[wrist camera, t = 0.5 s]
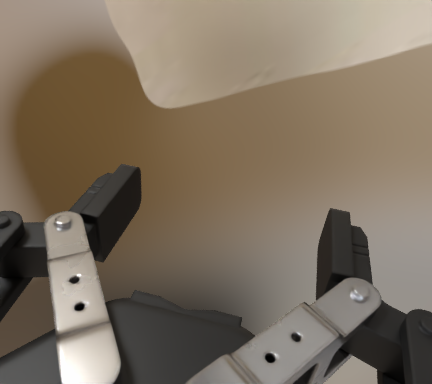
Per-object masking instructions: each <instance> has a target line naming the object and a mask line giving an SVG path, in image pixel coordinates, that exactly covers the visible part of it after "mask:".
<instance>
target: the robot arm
mask: <svg viewBox="0 0 432 384" xmlns="http://www.w3.org/2000/svg"><path fill="white" fill-rule="evenodd" d="M140 203H141V171H140V168H139V167H134V166H129V165H125V164H121V165H120V166H119V167H118V169H117V170H116V171H115V172H114V173H113V174H112V173H107V174H105V175H103V176H101V177H99V178H98V179H97V180H96V181H95V182H94V183H93V184H92V186H91V187H89V189H88V190H87V191H86V193H84V194H83V195H82V196H81V197H80V199H79V200H78V201H77V202H76V203H75V204H74V205H73V206H72V207H71V209H70V210H69V211H64V212H59V213H55V214H53V215H51V216H50V217H48V218H47V219H46V220H45V222H40V223H38V222H36V223H23V220H22V217H21V215H20V214H18V213H16V212H13V211H1V212H0V321H1V320H2V319H3V318H4V316H5V315H6V313H7V312H8V311H9V309H10V308H11V307H12V305H13V304H14V303H15V301H16V300H17V299H18V297H19V296H20V295H21V293H22V292H23V291H24V289H25V288H26V286H27V285H28V284H29V282H30V281H31V280H32V278H33V277H49V283H50V291H51V298H52V307H53V315H54V323H55V329H53V330H52V331H50V332H48V333H46V334H44V335H42V336H40V337H38V338H37V339H35V340H33V341H31V342H29V343H27V344H25V345H23V346H21V347H20V348H18V349H16V350H14V351H12V352H10V353H8V354H7V355H5V356H3V357H1V358H0V384H323V383H324V382H325V381H326V380H327V379H328V378H330V377H331V376H332V375H333V374H334V373H335V372H336V371H337V370H338V369H339V368H340V367H341V366H342V365H343V364H344V363H345V362H346V361H347V360H348V359H350V358H351V356H355V357H356V358H358V359H360V360H362V361H363V362H365V363H367V364H369V365H370V366H372V367H374V368H376V369H377V379H378V384H432V313H431V312H429V311H426V310H421V309H416V310H412V311H410V312H409V313H408V314H405V313H403V312H401V311H399V310H397V309H395V308H393V307H391V306H389V305H388V304H386V303H385V302H384V301H382V300H381V295H380V293H379V291H378V290H377V289H376V288H375V287H374V286H373V283H372V275H371V266H370V258H369V250H368V241H367V236H366V235H365V234H364V232H363V231H362V229H361V228H360V227H357V226H352V225H351V222H350V213H349V212H346V211H342V210H337V209H332V208H330V210H329V213H328V215H327V218H326V221H325V224H324V228H323V231H322V234H321V237H320V240H319V245H318V254H317V255H318V257H317V283H316V301H315V302H314V303H312V304H311V305H308V304H307V303H305V302H304V303H301V304H299V305H298V306H297V307H295V308H294V309H293V310H291V311H290V312H288V313H287V314H286V315H284V316H283V317H281V318H280V319H279V320H277V321H276V322H275V323H273V324H272V325H271V326H269V327H268V328H266V329H265V330H264V331H262V332H261V333H260V334H258V335H257V336H255V335H253V334H252V333H251V332H250V331H248V330H247V329H245V328H243V327H241V321H242V317H238V316H234V315H230V314H226V313H222V312H218V311H213V310H187V309H183V308H181V307H179V306H177V305H176V304H174V303H172V302H170V301H168V300H166V299H164V298H162V297H160V296H156V295H152V294H149V293H144V292H140V291H137V290H135V291H134V292H133V294H132V296H131V298H121V299H115V300H111V301H108V302H105V301H104V297H103V293H102V289H101V285H100V281H99V277H98V273H97V269H96V265H95V261H99V262H104V261H105V259H106V258H107V256H108V255H109V253H110V252H111V250H112V249H113V247H114V246H115V244H116V243H117V241H118V240H119V238H120V237H121V235H122V234H123V232H124V231H125V229H126V228H127V226H128V225H129V223H130V221H131V220H132V219H133V217H134V215H135V214H136V212H137V211H138V209H139V207H140ZM94 260H95V261H94Z"/></svg>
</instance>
